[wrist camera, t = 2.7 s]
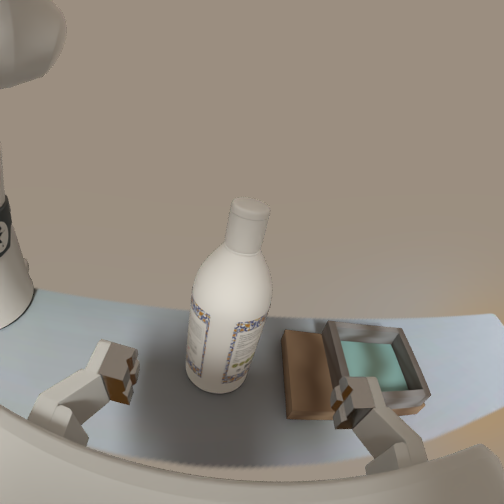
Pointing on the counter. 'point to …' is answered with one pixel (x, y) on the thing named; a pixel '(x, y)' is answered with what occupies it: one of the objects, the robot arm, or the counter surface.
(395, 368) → the tray
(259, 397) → the counter surface
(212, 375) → the bath foam
